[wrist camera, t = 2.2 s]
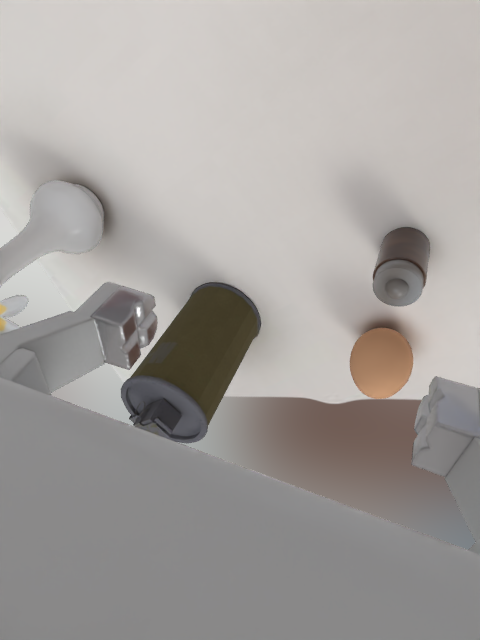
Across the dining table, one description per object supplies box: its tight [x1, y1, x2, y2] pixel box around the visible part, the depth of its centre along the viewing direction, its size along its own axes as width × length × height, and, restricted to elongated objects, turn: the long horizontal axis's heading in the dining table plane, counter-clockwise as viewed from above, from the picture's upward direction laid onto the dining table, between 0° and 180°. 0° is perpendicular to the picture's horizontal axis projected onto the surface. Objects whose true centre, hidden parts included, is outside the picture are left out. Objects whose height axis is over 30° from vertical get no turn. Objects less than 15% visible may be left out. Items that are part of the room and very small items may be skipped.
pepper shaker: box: [373, 228, 430, 306], centre depth 41 cm, size 5×5×8 cm
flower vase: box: [0, 181, 104, 334], centre depth 48 cm, size 13×18×25 cm
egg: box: [350, 328, 413, 399], centre depth 49 cm, size 7×7×9 cm
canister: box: [121, 283, 261, 443], centre depth 53 cm, size 11×10×20 cm
